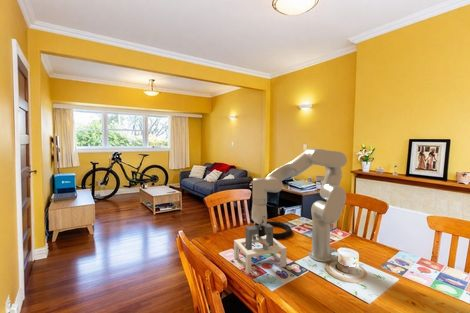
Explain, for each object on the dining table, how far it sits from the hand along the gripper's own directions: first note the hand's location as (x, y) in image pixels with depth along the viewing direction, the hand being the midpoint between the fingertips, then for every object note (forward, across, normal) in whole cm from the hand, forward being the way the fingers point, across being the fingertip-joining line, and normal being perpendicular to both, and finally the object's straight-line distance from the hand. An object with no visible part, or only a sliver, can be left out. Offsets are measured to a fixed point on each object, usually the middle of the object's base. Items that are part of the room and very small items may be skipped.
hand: (259, 234), depth 133 cm
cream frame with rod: (+15, 0, 0) cm, 15 cm away
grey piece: (+8, 0, 0) cm, 8 cm away
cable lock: (+16, -35, +27) cm, 47 cm away
